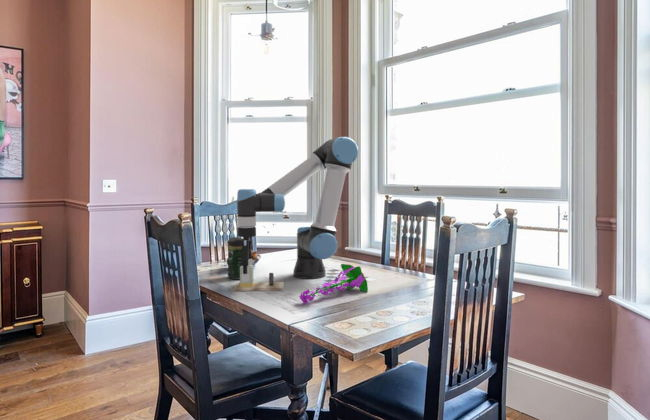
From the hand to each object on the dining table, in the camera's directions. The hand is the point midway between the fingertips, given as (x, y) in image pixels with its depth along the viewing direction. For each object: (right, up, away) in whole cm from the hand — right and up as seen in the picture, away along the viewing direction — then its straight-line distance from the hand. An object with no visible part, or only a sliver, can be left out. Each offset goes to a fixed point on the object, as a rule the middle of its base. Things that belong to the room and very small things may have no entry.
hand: (247, 277), depth 175 cm
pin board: (+5, -4, +1) cm, 7 cm away
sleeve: (0, -3, 0) cm, 3 cm away
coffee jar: (-8, -3, +19) cm, 20 cm away
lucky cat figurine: (-8, -2, +37) cm, 38 cm away
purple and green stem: (+37, -6, -11) cm, 39 cm away
